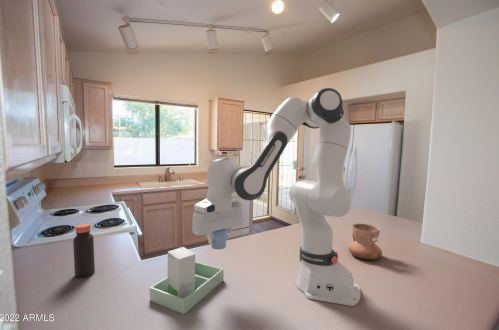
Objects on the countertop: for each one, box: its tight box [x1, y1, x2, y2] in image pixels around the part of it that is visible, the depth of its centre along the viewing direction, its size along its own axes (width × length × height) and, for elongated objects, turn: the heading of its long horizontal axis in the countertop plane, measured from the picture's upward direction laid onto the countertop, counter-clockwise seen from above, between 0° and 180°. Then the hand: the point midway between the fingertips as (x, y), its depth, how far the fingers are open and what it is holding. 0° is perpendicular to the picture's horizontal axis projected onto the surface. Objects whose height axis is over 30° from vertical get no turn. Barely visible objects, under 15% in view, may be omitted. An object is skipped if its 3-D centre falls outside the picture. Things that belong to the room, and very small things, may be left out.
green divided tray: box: [149, 260, 224, 315], centre depth 88 cm, size 15×22×4 cm
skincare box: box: [166, 246, 196, 299], centre depth 84 cm, size 8×7×16 cm
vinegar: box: [72, 223, 96, 279], centre depth 99 cm, size 7×7×20 cm
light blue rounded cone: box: [211, 229, 227, 250], centre depth 88 cm, size 5×5×6 cm
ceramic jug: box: [348, 222, 383, 261], centre depth 117 cm, size 18×14×14 cm
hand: (218, 241), depth 88 cm, fingers closed on light blue rounded cone, 5 cm apart
